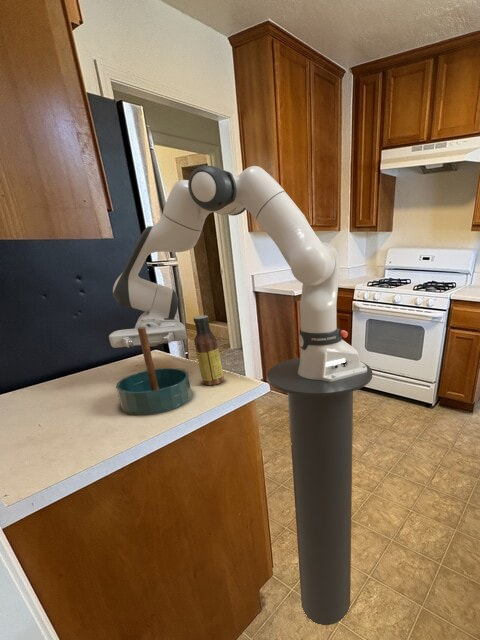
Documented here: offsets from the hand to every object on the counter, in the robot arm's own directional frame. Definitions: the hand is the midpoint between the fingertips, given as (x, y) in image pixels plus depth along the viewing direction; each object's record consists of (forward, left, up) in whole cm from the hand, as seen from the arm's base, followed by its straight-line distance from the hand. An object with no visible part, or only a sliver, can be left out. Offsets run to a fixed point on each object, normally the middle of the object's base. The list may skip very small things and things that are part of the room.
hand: (148, 342), depth 97 cm
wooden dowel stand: (0, +9, -13) cm, 16 cm away
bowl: (0, +9, -14) cm, 16 cm away
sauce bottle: (-15, +2, -14) cm, 21 cm away
